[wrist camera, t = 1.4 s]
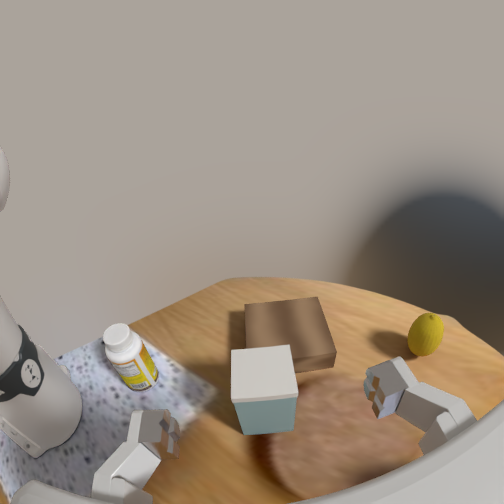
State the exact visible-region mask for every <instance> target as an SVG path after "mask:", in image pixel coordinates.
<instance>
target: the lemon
mask: <svg viewBox="0 0 504 504" xmlns="http://www.w3.org/2000/svg"><path fill="white" fill-rule="evenodd" d="M443 332H444V326H443V322H442V320H441V319H440V317H439V316H437V315H436V314H433V313H425V314H422V315H421V316H419V317H418V318H417V319H416V320H415V321H414V323H413V324H412V326H411V328H410V330H409V333H408V339H407V341H408V346H409V349H410V350H411V352H412V353H414V354H415V355H417V356H427V355H429V354H431V353H433V352H434V351H435V350H436V349H437V348H438V346H439V344H440V343H441V340H442V337H443Z"/></svg>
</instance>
